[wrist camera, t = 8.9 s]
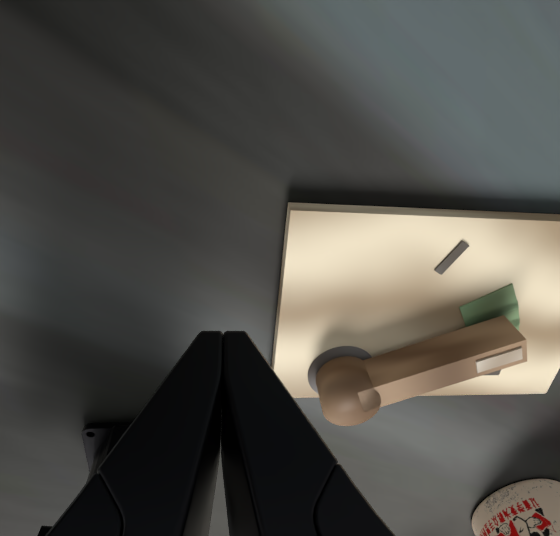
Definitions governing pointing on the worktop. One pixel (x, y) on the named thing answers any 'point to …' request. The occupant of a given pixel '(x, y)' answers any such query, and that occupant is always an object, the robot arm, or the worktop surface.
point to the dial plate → (415, 288)
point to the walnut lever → (416, 369)
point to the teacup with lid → (520, 510)
